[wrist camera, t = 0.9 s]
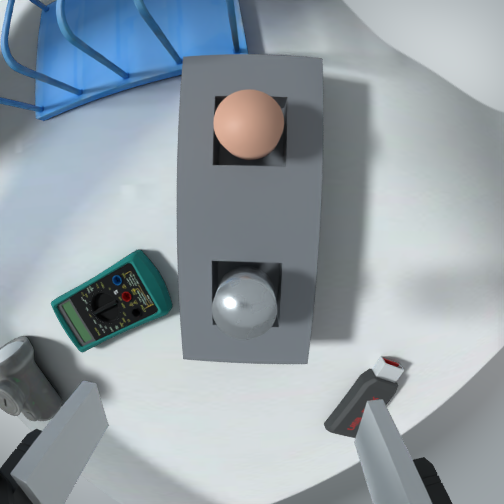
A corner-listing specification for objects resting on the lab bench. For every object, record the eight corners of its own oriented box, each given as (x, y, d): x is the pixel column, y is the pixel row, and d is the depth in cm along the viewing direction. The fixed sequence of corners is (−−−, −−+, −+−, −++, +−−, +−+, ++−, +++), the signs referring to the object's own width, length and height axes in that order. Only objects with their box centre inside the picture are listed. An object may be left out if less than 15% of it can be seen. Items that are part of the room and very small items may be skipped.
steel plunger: (218, 265, 27) (211, 278, 23) (276, 266, 27) (278, 280, 23) (218, 317, 28) (212, 338, 25) (273, 319, 28) (275, 340, 24)
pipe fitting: (3, 338, 35) (-31, 375, 25) (34, 328, 35) (-2, 370, 25) (42, 397, 39) (19, 439, 29) (76, 393, 39) (53, 440, 29)
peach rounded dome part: (221, 102, 24) (214, 89, 20) (281, 103, 24) (284, 90, 20) (219, 159, 25) (212, 155, 22) (279, 160, 25) (283, 157, 21)
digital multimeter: (179, 303, 34) (172, 313, 31) (87, 345, 35) (77, 356, 32) (146, 244, 32) (136, 250, 29) (58, 296, 34) (45, 304, 31)
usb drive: (323, 422, 37) (326, 435, 34) (373, 352, 34) (380, 364, 32) (353, 429, 37) (358, 442, 34) (404, 364, 35) (412, 375, 32)
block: (194, 74, 28) (183, 56, 23) (313, 76, 28) (322, 58, 23) (193, 336, 34) (183, 359, 29) (301, 340, 34) (307, 364, 29)
